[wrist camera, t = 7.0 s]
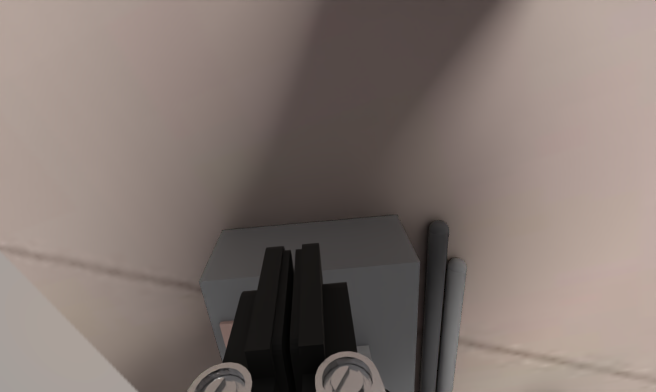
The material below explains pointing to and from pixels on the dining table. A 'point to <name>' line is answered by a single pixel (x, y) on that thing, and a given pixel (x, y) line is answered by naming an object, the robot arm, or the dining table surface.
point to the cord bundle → (434, 312)
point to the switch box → (337, 266)
